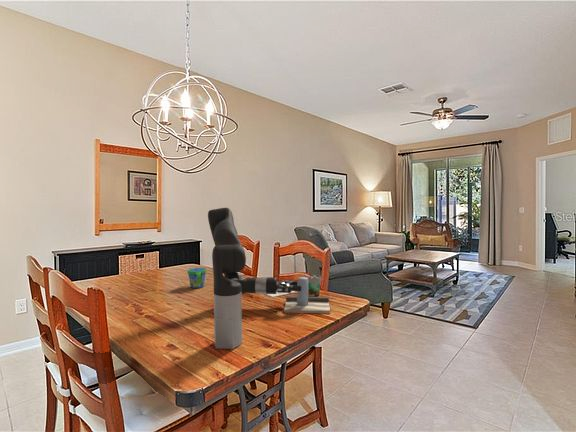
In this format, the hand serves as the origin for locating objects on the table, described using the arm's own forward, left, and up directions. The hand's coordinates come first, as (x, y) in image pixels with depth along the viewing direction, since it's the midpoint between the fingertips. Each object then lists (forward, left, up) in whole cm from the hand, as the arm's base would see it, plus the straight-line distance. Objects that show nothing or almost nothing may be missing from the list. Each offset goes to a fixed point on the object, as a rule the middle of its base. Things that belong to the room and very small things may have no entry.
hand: (301, 286), depth 142 cm
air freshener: (+23, +35, -10) cm, 44 cm away
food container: (+19, -7, -10) cm, 22 cm away
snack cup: (+33, +61, -10) cm, 70 cm away
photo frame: (+26, +16, -10) cm, 32 cm away
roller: (0, 0, -8) cm, 8 cm away
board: (-1, -3, -10) cm, 10 cm away
